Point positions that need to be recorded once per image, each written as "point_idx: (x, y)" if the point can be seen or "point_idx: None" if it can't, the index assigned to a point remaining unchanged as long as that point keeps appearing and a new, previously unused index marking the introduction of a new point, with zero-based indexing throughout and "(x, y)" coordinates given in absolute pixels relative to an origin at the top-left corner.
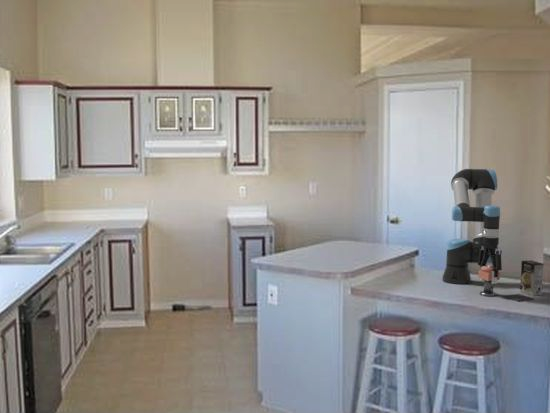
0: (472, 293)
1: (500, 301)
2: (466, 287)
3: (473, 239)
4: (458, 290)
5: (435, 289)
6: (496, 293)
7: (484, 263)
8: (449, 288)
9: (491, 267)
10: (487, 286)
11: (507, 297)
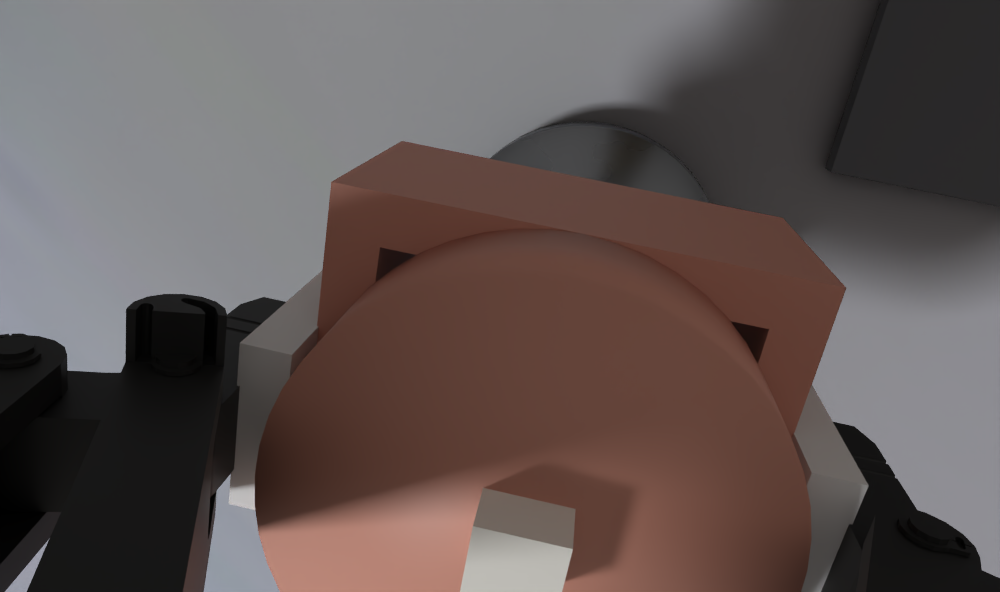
0: None
1: (968, 463)
2: (58, 135)
3: None
4: None
5: (18, 581)
6: (700, 193)
7: (206, 525)
8: None
9: (600, 522)
10: None
11: (944, 194)
